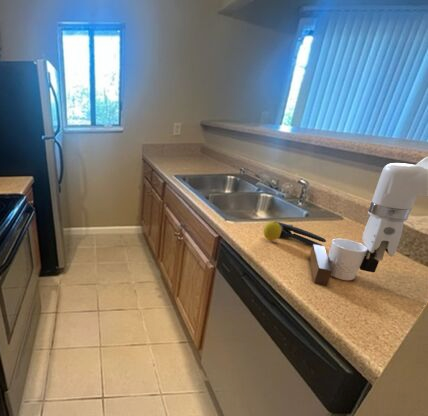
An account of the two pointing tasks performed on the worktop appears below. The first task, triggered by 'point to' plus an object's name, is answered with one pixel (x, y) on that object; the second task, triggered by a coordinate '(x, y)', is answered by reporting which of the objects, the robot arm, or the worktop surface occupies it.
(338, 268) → the white cup
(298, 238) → the can opener
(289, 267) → the worktop surface
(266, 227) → the lemon
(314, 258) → the walnut rail
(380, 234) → the robot arm
